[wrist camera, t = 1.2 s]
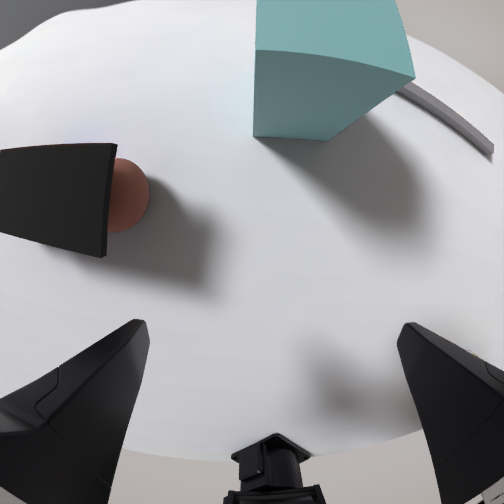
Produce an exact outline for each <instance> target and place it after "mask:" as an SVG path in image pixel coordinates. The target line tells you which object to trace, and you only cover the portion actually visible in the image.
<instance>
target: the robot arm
mask: <svg viewBox="0 0 504 504" xmlns="http://www.w3.org/2000/svg"><path fill="white" fill-rule="evenodd" d="M149 345H150V339H149V334H148V330H147V325H146V322H145V321H144V320H139V319H133V320H131V321H129V322H128V323H126V324H124V325H123V326H121V327H120V328H118V329H117V330H115V331H113V332H112V333H110V334H109V335H107V336H105V337H104V338H102V339H101V340H99V341H98V342H96V343H94V344H93V345H91V346H90V347H88V348H87V349H85V350H83V351H82V352H80V353H79V354H77V355H76V356H74V357H72V358H71V359H69V360H68V361H66V362H65V363H63V364H61V365H60V366H59V367H57V368H55V369H54V370H52V371H50V372H49V373H47V374H46V375H44V376H42V377H41V378H39V379H37V380H35V381H34V382H32V383H30V384H28V385H26V386H24V387H22V388H20V389H18V390H16V391H14V392H12V393H10V394H8V395H7V396H5V397H3V398H0V504H108V500H109V496H110V492H111V486H112V483H113V479H114V474H115V470H116V467H117V462H118V459H119V455H120V452H121V448H122V445H123V441H124V438H125V434H126V431H127V427H128V424H129V421H130V418H131V414H132V411H133V408H134V405H135V402H136V398H137V395H138V392H139V389H140V386H141V383H142V378H143V373H144V369H145V364H146V359H147V355H148V350H149ZM397 348H398V351H399V355H400V358H401V362H402V366H403V369H404V373H405V377H406V380H407V383H408V386H409V389H410V391H411V394H412V397H413V400H414V403H415V406H416V408H417V411H418V414H419V418H420V421H421V424H422V427H423V430H424V433H425V436H426V440H427V444H428V447H429V451H430V454H431V458H432V462H433V466H434V469H435V475H436V479H437V483H438V488H439V493H440V498H441V503H442V504H464V503H466V502H468V501H469V500H471V499H472V498H474V497H476V496H477V495H479V494H480V493H481V496H482V498H483V500H481V501H480V502H478V503H477V504H504V371H502V370H500V369H498V368H497V367H495V366H493V365H491V364H489V363H488V362H486V361H484V360H482V359H480V358H479V357H477V356H475V355H473V354H471V353H470V352H468V351H466V350H464V349H463V348H461V347H459V346H457V345H455V344H454V343H452V342H450V341H448V340H446V339H444V338H443V337H441V336H439V335H437V334H435V333H434V332H432V331H430V330H428V329H426V328H424V327H423V326H421V325H419V324H417V323H415V322H410V323H405V324H404V326H403V328H402V330H401V333H400V335H399V338H398V340H397ZM309 458H310V454H309V453H307V452H306V451H304V450H302V449H301V448H299V447H297V446H296V445H294V444H293V443H291V442H290V441H288V440H286V439H285V438H283V437H282V436H280V435H279V434H272V435H270V436H268V437H266V438H265V439H263V440H261V441H259V442H257V443H255V444H253V445H250V446H248V447H246V448H244V449H242V450H240V451H238V452H235V453H233V454H232V455H231V459H232V460H234V461H236V462H237V463H239V480H241V489H240V491H228V496H226V497H224V500H223V504H326V502H325V499H324V496H323V494H322V491H321V488H320V485H319V484H318V485H313V486H310V487H303V483H302V478H301V472H300V467H299V463H301V462H304V461H305V460H308V459H309Z"/></svg>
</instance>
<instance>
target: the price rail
mask: <svg viewBox="0 0 504 504" xmlns="http://www.w3.org/2000/svg"><path fill="white" fill-rule="evenodd" d="M397 92H399V93H401V94H402V95H404V96H406V97H407V98H409V99H411V100H412V101H414V102H416V103H417V104H419V105H421V106H422V107H424V108H425V109H427V110H428V111H430V112H431V113H433V114H434V115H436V116H437V117H439V118H440V119H442V120H443V121H445V122H446V123H447V124H449V125H450V126H452V127H453V128H454V129H456V130H457V131H458V132H460V133H461V134H462V135H463V136H465V137H466V138H467V139H468V140H470V141H471V142H472V143H473V144H475V145H476V146H477V147H478V148H479V149H481V150H482V151H483V152H484V153H485V154H492V153H494V144H493V143H492V142H491V141H489V140H488V139H487V138H486V137H485V136H484V135H483V134H482V133H481V132H479V131H478V130H477V129H476V128H475V127H474V126H473V125H471V124H470V123H469V122H468V121H466V120H465V119H464V118H463V117H461V116H460V115H459V114H458V113H456V112H455V111H454V110H452V109H451V108H450V107H448V106H447V105H445V104H444V103H443V102H441V101H440V100H438V99H437V98H435V97H434V96H432V95H431V94H429V93H428V92H427V91H425V90H424V89H422V88H420V87H419V86H417V85H416V84H414V83H412V82H409V83H408V84H406V85H405V86H404V87H402V88H401V89H399V90H398V91H397Z"/></svg>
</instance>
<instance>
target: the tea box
mask: <svg viewBox="0 0 504 504" xmlns="http://www.w3.org/2000/svg"><path fill="white" fill-rule="evenodd" d="M415 78H416V77H415V72H414V67H413V62H412V58H411V53H410V49H409V45H408V41H407V37H406V34H405V30H404V27H403V23H402V20H401V17H400V14H399V11H398V8H397V5H396V2H395V0H257V7H256V39H255V72H254V112H253V137H278V138H295V139H308V140H319V141H329V140H330V139H332V138H333V137H334V136H336V135H337V134H338V133H340V132H341V131H342V130H344V129H345V128H346V127H348V126H349V125H350V124H352V123H353V122H355V121H356V120H357V119H359V118H360V117H361V116H363V115H364V114H365V113H367V112H368V111H370V110H371V109H372V108H374V107H375V106H377V105H378V104H379V103H381V102H382V101H384V100H385V99H386V98H388V97H389V96H391V95H392V94H393V93H395V92H396V91H398V90H399V89H401V88H402V87H404V86H405V85H406V84H408V83H409V82H411V81H412V80H414V79H415Z"/></svg>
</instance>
